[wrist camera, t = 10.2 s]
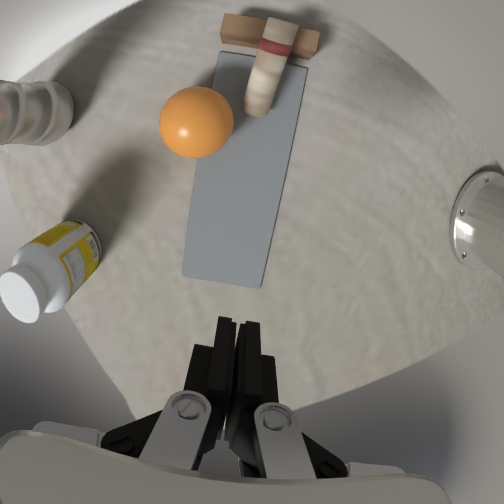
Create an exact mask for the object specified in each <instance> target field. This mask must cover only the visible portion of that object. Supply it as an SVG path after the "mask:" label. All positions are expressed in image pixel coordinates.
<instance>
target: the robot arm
mask: <svg viewBox="0 0 504 504" xmlns="http://www.w3.org/2000/svg"><path fill="white" fill-rule="evenodd" d="M450 237H451V244H452V249H453V251H454V253H455V256H456V257H457V259H458V260H459V261H460V262H461V263H462V264H463V265H465V266H466V267H468V268H469V269H472V270H483V269H486V268H488V267H489V268H491V269H492V270H494V271H495V272H496V273H498V274H499V275H501V276H502V277H504V176H503V175H502V174H499V173H497V172H493V171H482V172H480V173H477V174H476V175H474V176H473V177H471V178H470V179H469V180H468V182H467V183H466V184H465V185H464V187H463V188H462V190H461V191H460V193H459V195H458V197H457V200H456V202H455V205H454V208H453V212H452V217H451V225H450ZM235 337H236V323H235V322H232V318H227V317H221V316H219V317H218V323H217V329H216V335H215V341H214V347H209V346H204V345H198V344H195V345H194V348H193V352H192V356H191V360H190V365H189V369H188V373H187V377H186V381H185V385H184V390H183V391H179V392H176V393H174V394H173V395H171V396H170V398H169V399H168V401H167V403H166V405H165V407H164V409H163V410H161V411H158V412H156V413H154V414H151V415H149V416H146V417H144V418H142V419H139V420H137V421H134V422H132V423H129V424H126V425H124V426H121V427H118V428H116V429H113V430H111V431H109V432H107V433H100V432H98V430H96V429H89V428H83V427H76V426H70V425H65V424H59V423H54V422H46V421H44V422H41V423H38V424H37V425H36V426H35V427H34V429H33V431H27V430H24V431H15V432H10V433H8V434H6V435H5V436H3V437H2V438H1V439H0V504H452V501H451V499H450V498H449V496H448V494H447V492H446V491H445V489H444V488H443V487H442V485H441V484H440V483H438V482H437V481H435V480H433V479H431V478H428V477H424V476H419V475H413V474H405V473H404V471H403V470H401V469H400V468H398V467H394V466H383V465H372V464H363V463H355V462H350V463H349V464H344V463H343V462H342V461H341V460H340V459H339V458H337V457H336V456H334V455H333V454H332V453H330V452H329V451H327V450H326V449H324V448H323V447H322V446H320V445H319V444H317V443H316V442H315V441H313V440H312V439H310V438H309V437H308V436H306V435H305V434H304V433H302V432H301V430H300V427H299V425H298V421H297V418H296V416H295V414H294V412H293V411H292V410H291V409H290V408H288V407H287V406H285V405H283V404H280V403H279V399H278V388H277V377H276V367H275V358H274V356H268V355H261V339H260V323H258V322H251V321H246V323H245V324H240V328H239V332H238V337H237V341H236V346H235ZM225 417H226V424H225V437H224V440H225V441H229V449H232V451H233V452H234V453H235V454H236V455H237V456H238V457H239V460H238V463H239V469H240V475H241V477H238V476H228V475H220V474H212V473H205V472H199V471H198V470H199V468H200V465H201V462H202V459H203V454H205V453H207V452H208V451H210V450H212V449H213V448H214V446H215V442H216V440H220V438H221V434H222V430H223V426H224V422H225Z"/></svg>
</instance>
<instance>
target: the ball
mask: <svg viewBox="0 0 504 504" xmlns="http://www.w3.org/2000/svg"><path fill="white" fill-rule="evenodd" d="M233 125H234V117H233V112H232V109H231V106H230V105H229V103H228V101H227V100H226V99H225V98H224V97H223V96H222V95H221V94H220V93H218V92H217V91H215V90H213V89H210V88H207V87H200V86H195V87H188V88H185V89H182V90H180V91H178V92H177V93H175V94H174V95H172V96H171V97H170V98H169V99H168V100H167V102H166V103H165V105H164V106H163V108H162V111H161V113H160V117H159V130H160V134H161V137H162V139H163V141H164V143H165V144H166V145H167V147H168V148H169V149H170V150H172V151H173V152H174V153H176V154H178V155H180V156H182V157H186V158H193V159H195V158H204V157H207V156H210V155H212V154H214V153H216V152H217V151H219V150H220V149H221V148H222V147H223V146H224V145H225V144H226V143H227V141H228V140H229V138H230V136H231V134H232V130H233Z"/></svg>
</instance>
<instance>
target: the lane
mask: <svg viewBox="0 0 504 504" xmlns="http://www.w3.org/2000/svg"><path fill="white" fill-rule="evenodd" d="M255 58H256V57H251V56H245V55H238V54H232V53H225V52H219V56H218V61H217V65H216V69H215V74H214V78H213V83H212V87H211V89H213V90H215V91H217V92H218V93H220V94H221V95H222V96H223V97H224V98H225V99H226V100H227V101H228V103H229V105H230V106H231V109H232V112H233V117H234V125H233V130H232V134H231V136H230V138H229V140H228V141H227V143H226V144H225V145H224V146H223V147H222V148H221V149H220V150H219V151H217V152H216V153H214V154H212V155H210V156H207V157H204V158H198V161H197V167H196V173H195V179H194V186H193V192H192V199H191V206H190V213H189V221H188V228H187V236H186V244H185V252H184V261H183V270H182V276H184V277H190V278H196V279H202V280H208V281H214V282H220V283H226V284H232V285H238V286H244V287H251V288H257V289H260V286H261V281H262V277H263V273H264V268H265V264H266V259H267V255H268V251H269V246H270V242H271V237H272V233H273V228H274V224H275V219H276V215H277V210H278V206H279V201H280V197H281V192H282V188H283V183H284V178H285V174H286V169H287V164H288V160H289V155H290V150H291V146H292V141H293V136H294V131H295V127H296V122H297V117H298V112H299V107H300V102H301V98H302V93H303V88H304V83H305V78H306V73H307V69H306V68H302V67H298V66H294V65H290V64H285V67H284V69H283V72H282V75H281V78H280V81H279V84H278V87H277V90H276V93H275V96H274V99H273V101H272V104H271V107H270V110H269V113H268V115H267V116H266V117H257V116H252V115H249V114H247V113H245V112H244V111H243V110H242V109H241V105H242V102H243V98H244V95H245V91H246V88H247V84H248V81H249V78H250V74H251V71H252V68H253V64H254V61H255Z"/></svg>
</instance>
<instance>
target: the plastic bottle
mask: <svg viewBox="0 0 504 504" xmlns="http://www.w3.org/2000/svg"><path fill="white" fill-rule="evenodd" d="M73 114H74V103H73V99H72V96H71V94H70V92H69V91H68V90H67V89H66V88H65V87H63V86H62V85H60V84H58V83H56V82H53V81H38V82H33V83H14V82H10V81H4V80H0V145H4V144H26V145H32V146H45V145H47V144H50V143H52V142H55V141H57V140H58V139H60V138H61V137H62V136H63V135H64V134H65V133H66V131H67V130H68V128H69V126H70V125H71V122H72V119H73Z"/></svg>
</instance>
